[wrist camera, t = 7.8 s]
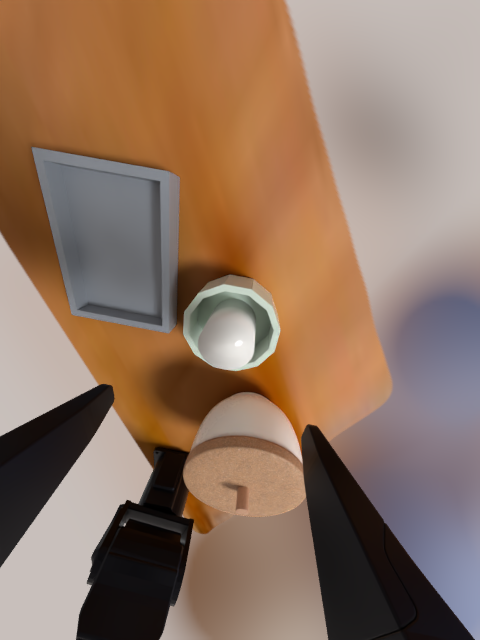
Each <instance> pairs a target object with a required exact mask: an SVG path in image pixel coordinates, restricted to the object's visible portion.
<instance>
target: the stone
mask: <svg viewBox="0 0 480 640" xmlns="http://www.w3.org/2000/svg"><path fill="white" fill-rule="evenodd" d="M255 330H256V315H255V312H254V310H253V309H252V307H251V306H250V305H249V304H247V303H246V302H244V301H242V300H239V299H226V300H224V301H222V302H220V303H219V304H218V305H217V306H216V307H215V308H214V310H213V312H212V314H211V316H210V317H209V319H208V321H207V323H206V325H205V326H204V328H203V330H202V332H201V334H200V336H199V338H198V348H199V351H200V354H201V355H202V357H203V358H204V359H205V360H206V361H207V362H208V363H209V364H211V365H212V366H215V367H217V368H220V369H225V370H233V369H237V368H240V367H242V366H244V365H246V364H247V363H248V362H249V361H250V360H251V358H252V356H253V354H254V347H255Z"/></svg>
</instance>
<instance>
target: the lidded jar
mask: <svg viewBox="0 0 480 640" xmlns="http://www.w3.org/2000/svg"><path fill="white" fill-rule="evenodd" d="M183 479H184V482H185V485H186V487H187V488H188V489H189V491H190V492H191V493H192V494H193V495H194V496H195V497H196V498H198V499H199V500H200V501H202V502H203V503H205V504H207V505H209V506H211V507H213V508H215V509H218V510H220V511H224V512H227V513H231V514H235V515H242V516H251V517H262V516H271V515H277V514H281V513H285V512H287V511H290V510H292V509H293V508H295V507H297V506H298V505H299V504H300V503H302V501H303V500H304V499H305V497H306V492H305V485H304V477H303V461H302V456H301V452H300V447H299V443H298V440H297V437H296V434H295V432H294V429H293V427H292V425H291V423H290V421H289V420H288V418H287V417H286V415H285V414H284V413H283V412H282V411H281V409H280V408H278V407H277V406H276V405H275V404H273V403H272V402H270V401H269V400H268V399H267V398H266V397H264V396H262V395H260V394H257V393H253V392H240V393H236V394H234V395H232V396H230V397H229V398H226V399H224V400H223V401H221V402H219V403H218V404H217V405H216V406H214V407H213V408H212V409H211V410H210V412H209V413H208V414H207V415H206V417H205V418H204V420H203V422H202V423H201V425H200V428H199V430H198V432H197V434H196V436H195V439H194V442H193V445H192V447H191V451H190V453H189V455H188V457H187V459H186V462H185V465H184V469H183Z"/></svg>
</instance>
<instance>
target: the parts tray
mask: <svg viewBox="0 0 480 640" xmlns="http://www.w3.org/2000/svg"><path fill="white" fill-rule="evenodd" d="M31 148H32V152H33V156H34V160H35V164H36V169H37V173H38V177H39V181H40V185H41V189H42V193H43V197H44V202H45V206H46V210H47V214H48V218H49V222H50V226H51V230H52V235H53V239H54V243H55V247H56V251H57V255H58V259H59V263H60V268H61V272H62V276H63V280H64V284H65V288H66V292H67V296H68V301H69V305H70V309H71V313H72V315H76V316H81V317H86V318H92V319H97V320H102V321H107V322H112V323H118V324H123V325H128V326H133V327H139V328H144V329H149V330H154V331H160V332H165V333H170V332H171V330H172V329H173V328H174V327H175V326H176V324H177V284H178V235H179V187H180V177H178V176H177V175H175V174H173V173H171V172H169V171H164V170H158V169H153V168H147V167H142V166H136V165H130V164H125V163H119V162H114V161H108V160H102V159H97V158H91V157H86V156H80V155H74V154H69V153H63V152H58V151H52V150H46V149H41V148H35V147H31Z"/></svg>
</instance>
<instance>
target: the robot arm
mask: <svg viewBox="0 0 480 640" xmlns="http://www.w3.org/2000/svg"><path fill="white" fill-rule="evenodd" d="M113 402H114V392H113V387H112V386H111V385H107V384H101V385H99V386H97V387H95V388H93V389H91V390H89V391H87V392H85V393H83V394H81V395H79V396H78V397H76V398H74V399H72V400H70V401H68V402H66V403H64V404H62V405H60V406H58V407H56V408H54V409H52V410H50V411H49V412H47V413H45V414H43V415H41V416H39V417H37V418H35V419H33V420H31V421H29V422H27V423H25V424H23V425H21V426H19V427H18V428H15V429H14V430H12V431H10V432H8V433H6V434H4V435H2V436H0V567H1V566H2V564H3V563H4V561H5V560H6V559H7V557H8V556H9V555H10V553H11V552H12V550H13V549H14V548H15V546H16V545H17V543H18V542H19V540H20V539H21V538H22V536H23V535H24V534H25V532H26V531H27V529H28V528H29V526H30V525H31V524H32V522H33V521H34V519H35V518H36V517H37V515H38V514H39V512H40V511H41V509H42V508H43V507H44V505H45V504H46V503H47V501H48V500H49V498H50V497H51V496H52V494H53V493H54V491H55V490H56V489H57V487H58V486H59V484H60V483H61V482H62V480H63V479H64V477H65V476H66V475H67V473H68V472H69V470H70V469H71V467H72V466H73V465H74V463H75V462H76V460H77V459H78V458H79V456H80V455H81V453H82V452H83V450H84V449H85V448H86V446H87V445H88V444H89V442H90V441H91V439H92V438H93V436H94V435H95V433H96V431H97V430H98V428H99V426H100V425H101V423H102V421H103V419H104V418H105V416H106V414H107V413H108V411H109V409H110V407H111V406H112V404H113ZM301 444H302V461H303V477H304V485H305V492H306V498H307V505H308V510H309V518H310V523H311V530H312V537H313V542H314V549H315V556H316V562H317V568H318V576H319V582H320V587H321V595H322V601H323V608H324V614H325V621H326V627H327V634H328V640H475V639H474V638H473V637H472V635H471V634H470V633H469V632H468V630H467V629H466V628H465V627H464V625H463V624H462V623H461V621H460V620H459V619H458V618H457V616H456V615H455V614H454V613H453V611H452V610H451V609H450V608H449V606H448V605H447V604H446V603H445V601H444V600H443V599H442V598H441V596H440V595H439V594H438V593H437V591H436V590H435V588H434V587H433V586H432V585H431V583H430V582H429V581H428V580H427V578H426V577H425V576H424V574H423V573H422V572H421V571H420V569H419V568H418V567H417V566H416V564H415V563H414V561H413V560H412V559H411V557H410V556H409V555H408V554H407V552H406V551H405V549H404V548H403V546H402V545H401V544H400V542H399V541H398V540H397V538H396V537H395V535H394V534H393V533H392V531H391V530H390V528H389V527H388V525H387V524H386V523H384V520H383V519H382V517H381V516H380V514H379V513H378V511H377V510H376V509H375V507H374V506H373V504H372V503H371V502H370V500H369V499H368V497H367V496H366V494H365V493H364V492H363V490H362V489H361V487H360V486H359V485H358V483H357V482H356V480H355V479H354V478H353V476H352V475H351V473H350V472H349V470H348V469H347V468H346V466H345V465H344V464H343V462H342V461H341V459H340V458H339V456H338V455H337V453H336V452H335V451H334V449H333V448H332V446H331V445H330V443H329V442H328V441H327V439H326V438H325V436H324V435H323V434H322V432H321V431H320V429H319V428H318V427H317V426H315V425H310V424H308V425H307V426H306V428H305V430H304V432H303V434H302V438H301ZM188 455H189V454H187V453H182V452H177V451H172V450H167V449H162V448H155V450H154V470H153V472H152V474H151V477H150V479H149V481H148V483H147V486H146V488H145V490H144V492H143V495H142V497H141V499H140V502H139V504H136V503H132V502H131V501H129V500H127V501H126V503H125V504H122V505H120V506H119V508H118V510H117V512H116V514H115V516H114V518H113V520H112V522H111V523H110V525H109V527H108V529H107V530H106V532H105V534H104V535H103V537H102V539H101V540H100V542H99V544H98V545H97V547H96V549H95V550H94V552H93V554H92V557H91V560H92V567H91V570H90V572H91V573H90V575H89V578H88V580H87V584H89V585H92V586H91V588H90V591H89V593H88V595H87V597H86V599H85V602H84V604H83V606H82V608H81V611H80V614H79V621H78V629H77V637H76V640H159V639H160V637H161V635H162V633H163V630H164V627H165V623H166V619H167V615H168V611H169V607H170V606H174V605H175V603H176V601H177V598H178V595H179V591H180V588H181V584H182V580H183V576H184V572H185V567H186V562H187V556H188V551H189V545H190V539H191V534H192V528H193V523H194V519H187V518H183V517H182V514H183V511H184V507H185V503H186V499H187V496H188V492H189V489H188V488H187V487H186V485H185V482H184V479H183V469H184V465H185V462H186V459H187V457H188ZM124 523H126V525H125V527H124V526H123V525H124Z"/></svg>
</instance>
